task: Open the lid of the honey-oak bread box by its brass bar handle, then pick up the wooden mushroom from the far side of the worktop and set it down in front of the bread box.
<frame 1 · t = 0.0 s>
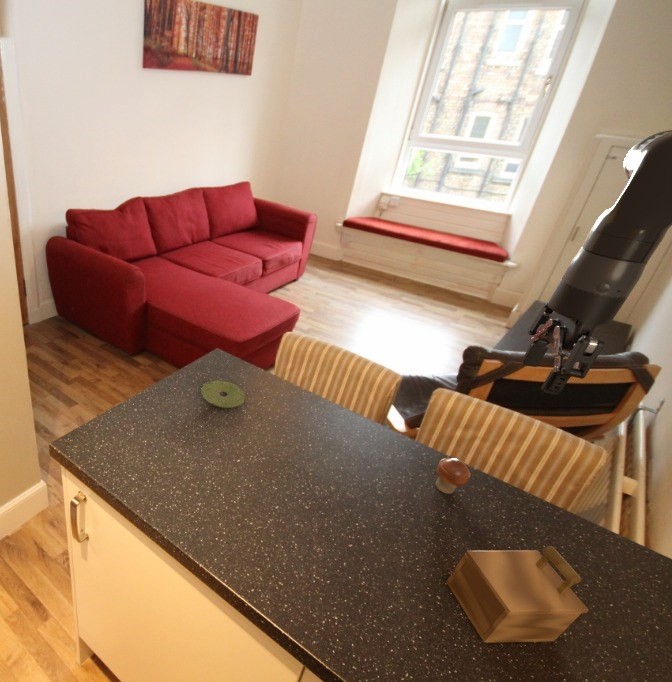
hand: (538, 377, 71), 32 cm above the breakfast bar, tool pointing down, fingers open, 8 cm apart
green disc with hole: (222, 399, 114), on the breakfast bar
lid: (530, 571, 66), point 10 cm above the breakfast bar, hinge at 0.0°
mushroom: (444, 487, 93), on the breakfast bar
breadbox: (497, 610, 71), on the breakfast bar
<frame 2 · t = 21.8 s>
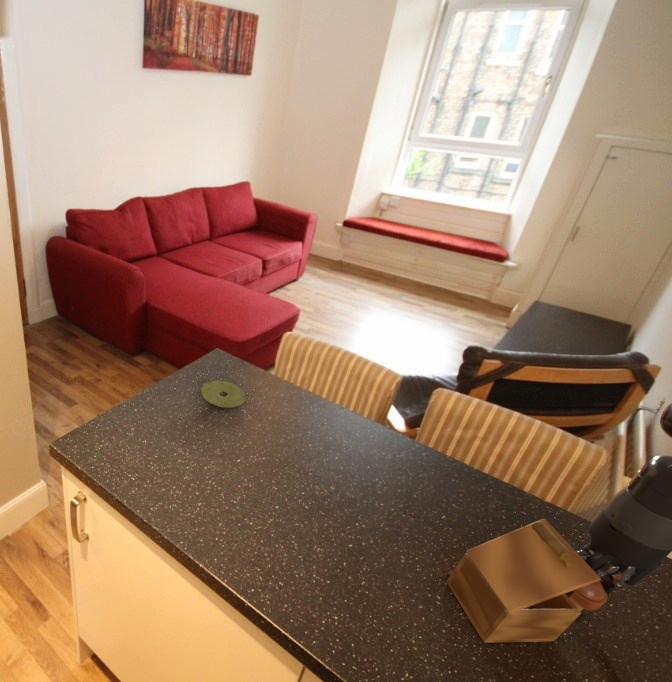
hand: (574, 594, 70), 4 cm above the breakfast bar, tool pointing down, fingers closed on mushroom, 5 cm apart
lid: (524, 557, 64), point 14 cm above the breakfast bar, hinge at 40.5°
mushroom: (565, 605, 71), point 1 cm above the breakfast bar, touching gripper
everything else where it was.
when the fingers open (4 cm above the breakfast bar, at t = 24.2 s): mushroom drops 2 cm, on the breakfast bar.
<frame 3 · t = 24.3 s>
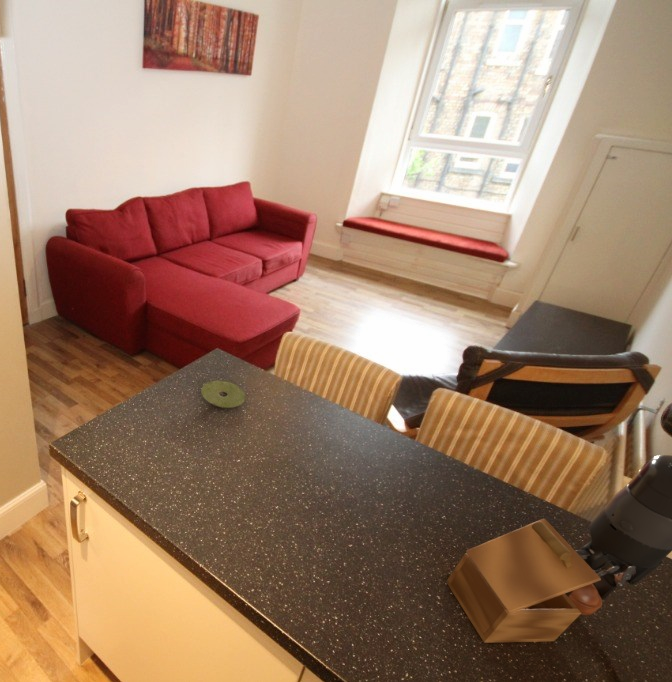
hand: (575, 593, 70), 4 cm above the breakfast bar, tool pointing down, fingers open, 6 cm apart
mushroom: (560, 609, 72), on the breakfast bar
everything else where it was.
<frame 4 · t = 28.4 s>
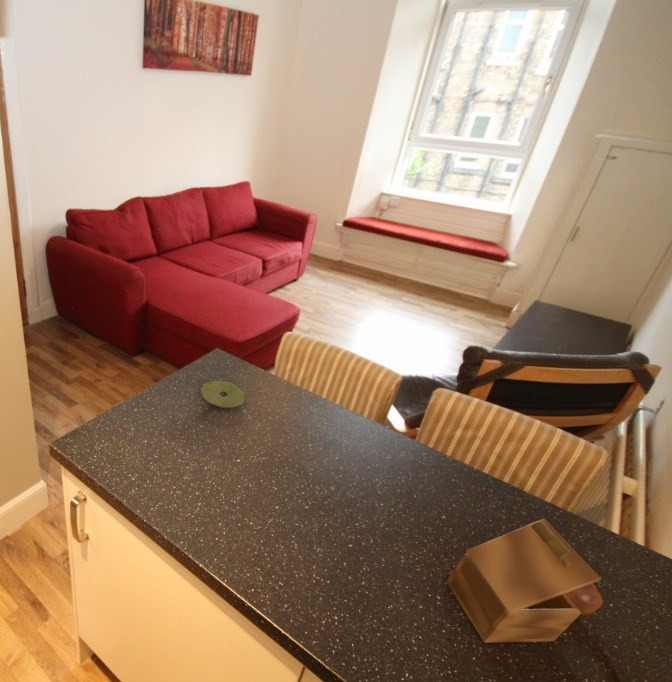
nothing on the breakfast bar moved.
at the end: lid at +40° (first picture: +0°); mushroom inside the target area on the breakfast bar beside the breadbox (0.1 cm from its centre), on the breakfast bar; mushroom tilted 0° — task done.
